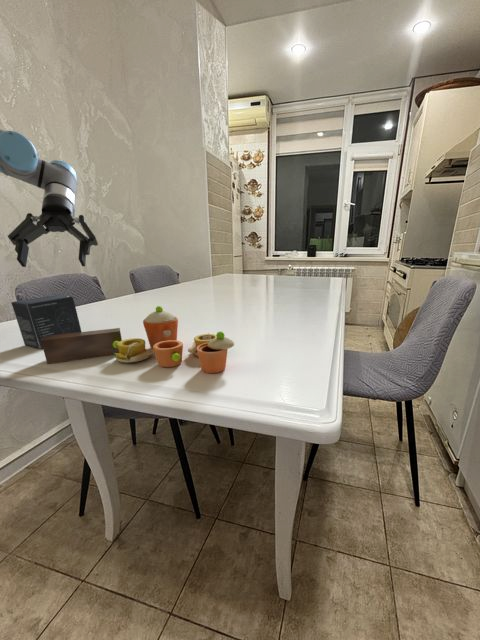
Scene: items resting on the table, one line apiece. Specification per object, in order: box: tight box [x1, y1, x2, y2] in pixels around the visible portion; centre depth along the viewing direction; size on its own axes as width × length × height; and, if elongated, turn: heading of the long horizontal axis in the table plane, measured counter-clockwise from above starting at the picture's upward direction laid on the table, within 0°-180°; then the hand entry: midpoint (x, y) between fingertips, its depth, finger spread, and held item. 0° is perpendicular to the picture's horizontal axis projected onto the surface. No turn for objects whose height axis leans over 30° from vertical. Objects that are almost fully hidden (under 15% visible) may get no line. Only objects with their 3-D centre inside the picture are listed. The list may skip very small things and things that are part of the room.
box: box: [10, 294, 82, 349], centre depth 70 cm, size 11×7×10 cm, turn 155°
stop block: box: [41, 327, 123, 365], centre depth 61 cm, size 14×3×5 cm, turn 116°
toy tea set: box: [113, 305, 235, 374], centre depth 60 cm, size 26×16×10 cm, turn 72°
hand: (52, 263), depth 75 cm, fingers open, 13 cm apart
